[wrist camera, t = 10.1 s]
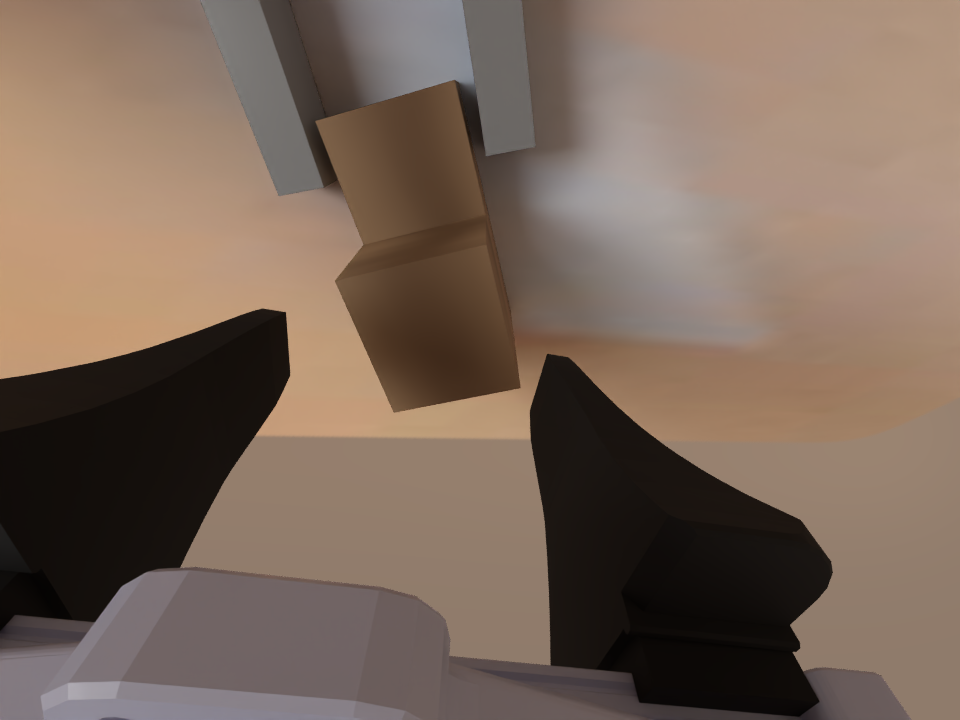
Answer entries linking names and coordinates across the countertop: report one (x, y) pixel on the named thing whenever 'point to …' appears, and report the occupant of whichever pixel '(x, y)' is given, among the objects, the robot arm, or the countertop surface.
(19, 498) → the robot arm
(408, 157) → the block
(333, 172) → the channel
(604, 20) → the countertop surface
